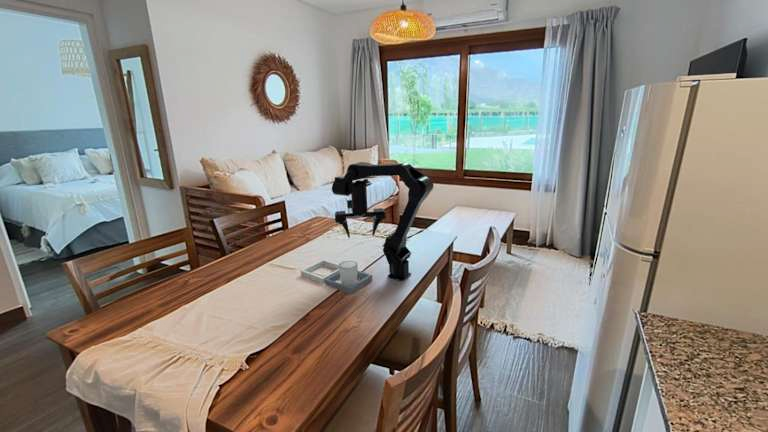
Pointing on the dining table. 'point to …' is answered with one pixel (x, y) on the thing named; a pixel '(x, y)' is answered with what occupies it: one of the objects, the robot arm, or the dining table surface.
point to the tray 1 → (317, 278)
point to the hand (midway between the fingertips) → (361, 236)
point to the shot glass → (348, 272)
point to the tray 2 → (347, 289)
